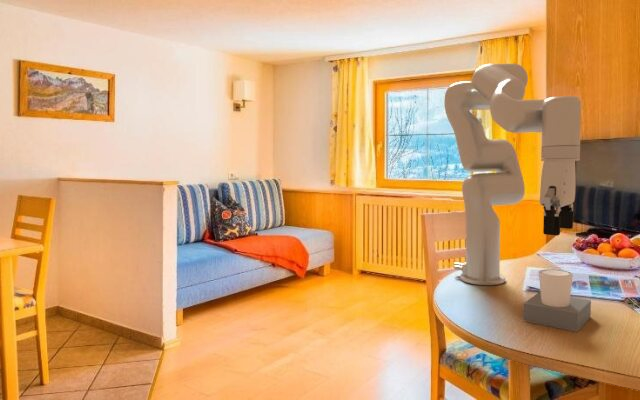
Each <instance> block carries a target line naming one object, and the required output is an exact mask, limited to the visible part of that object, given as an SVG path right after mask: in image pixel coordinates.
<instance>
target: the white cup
mask: <svg viewBox="0 0 640 400" xmlns="http://www.w3.org/2000/svg"><path fill="white" fill-rule="evenodd" d="M573 275H574V274H573V273H572V272H570V271H567V270H564V269H563V270H562V269H555V268H552V269H549V268H548V269H540V270H539V271H538V279H539V290H540V291H539V292H541V302H542V303H543V304H545V305H548V306H552V307H567V306H569V302H570V297H571V294H572V285H573V277H574V276H573Z"/></svg>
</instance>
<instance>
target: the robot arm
mask: <svg viewBox="0 0 640 400" xmlns="http://www.w3.org/2000/svg"><path fill="white" fill-rule="evenodd" d="M528 76H529V75H528V73H527V71H526V69H525V67H523V66H522V65H520V64H518V63H486V64H483V65H481V66H479V67H478V68H476V70H475V71H474V72H473V74H472V78H471V80H470V81H469V80H468V81H467V80H466V81H459V82H455V83H452V84H451V85H449V86H448V87H447V89H446V91H445V94H444V99H443V100H444V105H443V106H444V111H445V115H446V117H447V120H448V122H449V123H450V126H451V128H452V131H453V133H454V137H455V141H456V145H457V151H458V154H459V155H458V156H459V158H460V162H461V166H462V167H463V169H464V170H465V171H467V172H472V173H473V172H474V173H475V174H471V175H468V176H467V177H466V178H464V180H463V181H462V185H461V191H462V193H461V194H462V198H463V204H464V210H465V211H464V212H465V262H464V263H462V262H456V261H455V262H454V265H453V270H454V271H455V270H456V271H461V272H462V273H461V274H460V280H461V281H463V282H465V283H468V284H472V285H478V286H497V285H501V284H504V283H505V282H506V276H505V275H503V274H502V273H500V272H501V269H500V268H501V267H500V266H501V264H500V263H501V260H500V258H501V253H500V252H501V251H500V250H501V249H500V248H501V247H500V246H501V222H500V219H499V215H498V214H497V213H496V211H495V210H494V208H493V206H508V205H516V204H519V203H521V202H522V200H523V199H524V196H525V194H526V193H525V192H526V191H525V189H526V187H525V181H524V177H523V174H522V169H521V166H520V163H519V159H518V155H517V152H516V149H515V147H514V146H513V143H511V142H510V141H508V140H506V139H502V138H501V139H489V138H487V136H486V133H485V128H484V126H483V124H482V122H481V120H479V118H478V117H477V116H476V115H475V114H473V113H472V112H471V111H478V110H479V111H483V110H484V111H486V110H487V111H490V115H491V119H492V120H493V121H494V122H495V123H496V124H497V125H498V126H499V127H501V128H502V130H505V131H506V132H509V133H513V134H518V133H519V134H520V133H521V134H522V133H523V134H524V133H525V134H526V133H541V148H540V149H541V152H540V154H541V155H540V156H541V157H540V158H541V160H540V161H541V162H543V163H542V168H541V175H540V176H541V177H540V191H539V204H540V206H542V207H543V231H542V232H543V234H544V235H545V236H547V235H548V236H560V235H561V229H566V230H567V229H568V230H571V229H573V228H574V204H573V203H574V202H575V199H576V185H577V183H576V182H577V181H576V162H579V161H580V160H581V129H582V128H581V127H582V126H581V125H582V124H581V123H582V122H581V121H582V120H581V119H582V101H581V99H580V98H579V97H578V96H575V95H563V96H560V95H559V96H552V97H548V98H546V99H524V97H525V94H526V87H527V85H528V79H529V77H528ZM481 172H482V173H481Z"/></svg>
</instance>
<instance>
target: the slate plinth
mask: <svg viewBox="0 0 640 400" xmlns="http://www.w3.org/2000/svg"><path fill="white" fill-rule="evenodd" d="M591 307H592V300H591V299H586V298H579V297H573V296H570V302H569V306H567V307H552V306H548V305H545V304H543V303H542V302H541V292H540V291H539V292H538V293H536V294H534V295H533V296H531V298H530V299H528V300H526V301H525V302H523V317H522V318H523V322H527V323H528V322H529V323H532V324H533V323H534V324H537V325H543V326H547V327H551V328H557V329H561V330H567V331H571V332H576V333H578V332H579V331H580V330H581V329H582V327H583V326H584V325H585V324H586V323H587V322H588V321H589V320H590V319H591V314H592V312H591V311H592V310H591V309H592V308H591Z"/></svg>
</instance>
